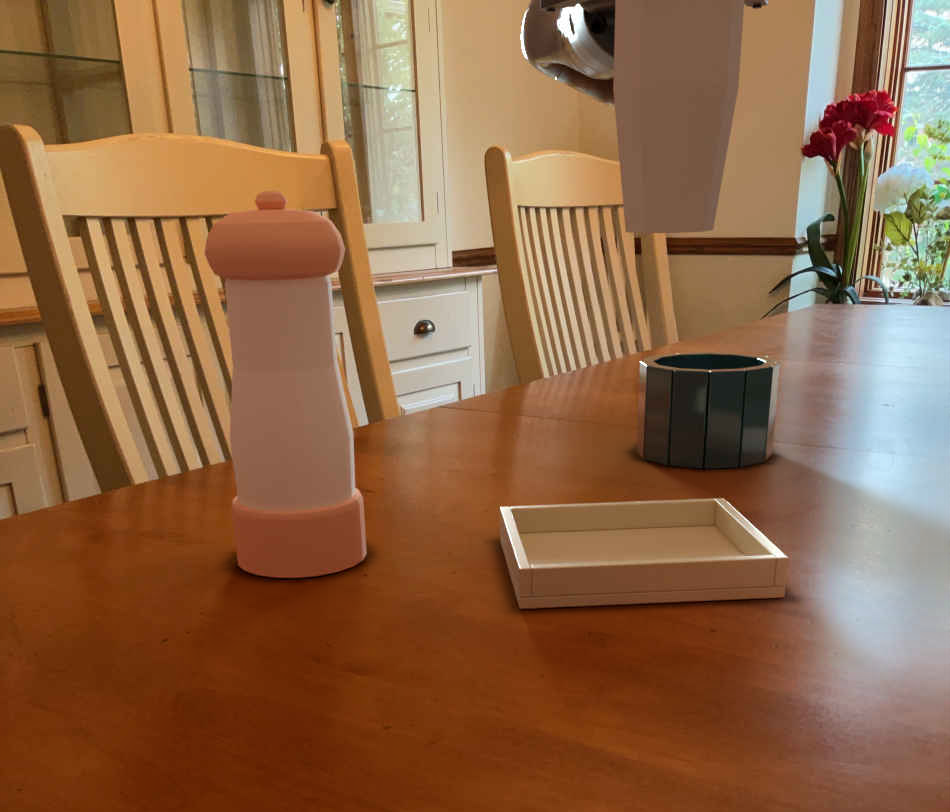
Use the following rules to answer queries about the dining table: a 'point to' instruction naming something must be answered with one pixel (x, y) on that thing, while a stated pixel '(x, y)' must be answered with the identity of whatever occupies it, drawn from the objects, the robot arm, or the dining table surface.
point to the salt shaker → (287, 393)
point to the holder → (707, 409)
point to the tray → (637, 554)
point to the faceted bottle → (674, 108)
